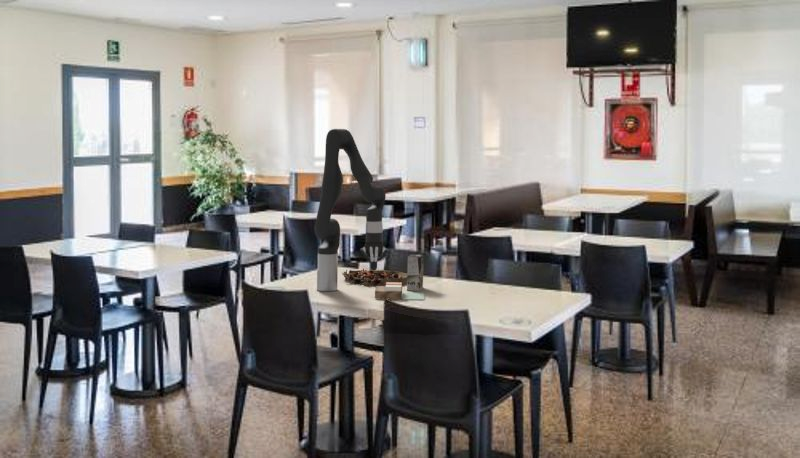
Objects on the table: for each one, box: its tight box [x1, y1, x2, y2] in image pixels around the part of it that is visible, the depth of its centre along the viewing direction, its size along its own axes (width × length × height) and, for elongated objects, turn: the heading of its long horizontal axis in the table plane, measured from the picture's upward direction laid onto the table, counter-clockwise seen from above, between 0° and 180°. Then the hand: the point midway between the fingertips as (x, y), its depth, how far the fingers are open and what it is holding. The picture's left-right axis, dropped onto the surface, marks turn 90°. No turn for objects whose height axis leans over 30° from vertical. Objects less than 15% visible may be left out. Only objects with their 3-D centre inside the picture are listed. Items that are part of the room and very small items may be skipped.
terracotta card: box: [386, 282, 403, 290], centre depth 379 cm, size 7×4×2 cm, turn 89°
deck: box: [374, 286, 403, 300], centre depth 376 cm, size 12×12×4 cm
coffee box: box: [406, 253, 424, 292], centre depth 394 cm, size 9×6×16 cm
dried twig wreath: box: [341, 267, 407, 287], centre depth 413 cm, size 35×33×8 cm
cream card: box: [386, 285, 403, 291], centre depth 372 cm, size 7×4×2 cm, turn 89°
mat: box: [402, 292, 425, 301], centre depth 376 cm, size 10×14×1 cm
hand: (374, 269), depth 371 cm, fingers closed
